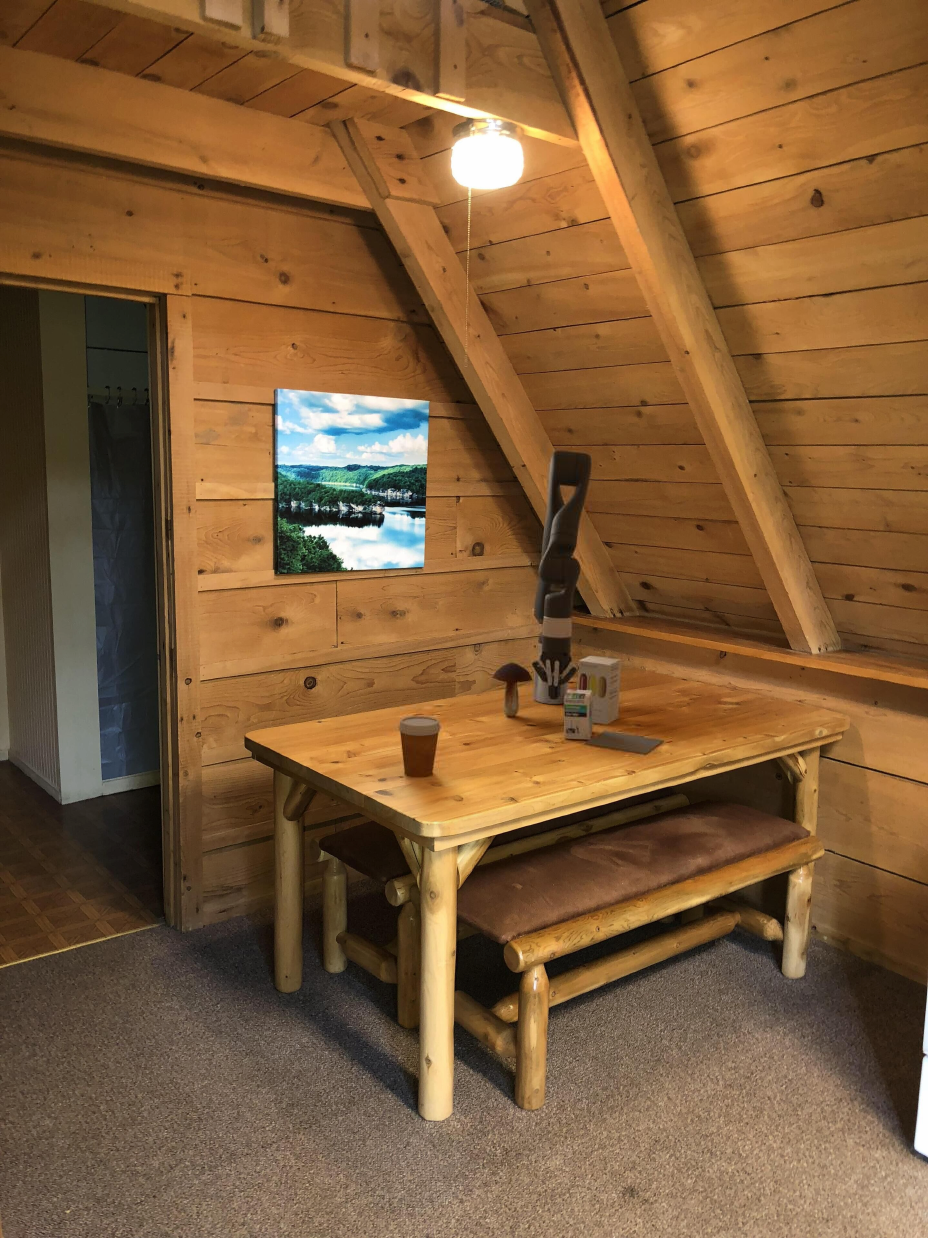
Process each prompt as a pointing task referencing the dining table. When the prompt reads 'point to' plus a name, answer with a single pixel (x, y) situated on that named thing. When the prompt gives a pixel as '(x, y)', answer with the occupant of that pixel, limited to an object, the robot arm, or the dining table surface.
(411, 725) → the disposable coffee cup
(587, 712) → the light bulb box
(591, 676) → the supplement box
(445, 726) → the dining table surface
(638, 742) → the mat
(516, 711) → the decorative mushroom
